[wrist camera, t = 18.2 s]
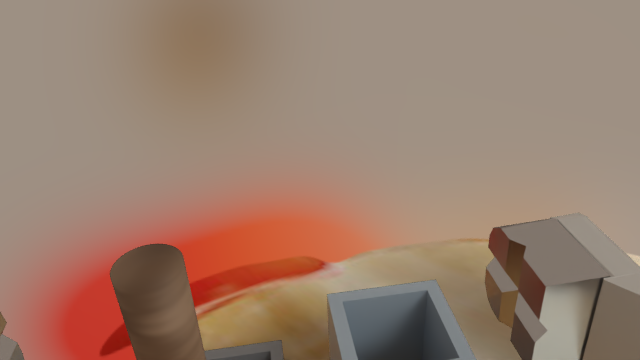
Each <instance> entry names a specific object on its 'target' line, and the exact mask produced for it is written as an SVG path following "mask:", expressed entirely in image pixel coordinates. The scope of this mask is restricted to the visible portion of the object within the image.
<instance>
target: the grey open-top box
mask: <svg viewBox="0 0 640 360" xmlns="http://www.w3.org/2000/svg"><path fill="white" fill-rule="evenodd" d="M327 307H328V330H329V353H330V360H476V358H475V356H474V354H473V352H472V350H471V348H470V346H469V344H468V342H467V340H466V338H465V336H464V334H463V332H462V330H461V328H460V326H459V324H458V322H457V320H456V318H455V316H454V315H453V313H452V311H451V309H450V307H449V305H448V303H447V301H446V299H445V297H444V295H443V293H442V291H441V289H440V287H439V285H438V283H437V281H436V280H430V281H422V282H415V283H407V284H400V285H392V286H385V287H377V288H370V289H362V290H355V291H347V292H340V293H333V294H327Z"/></svg>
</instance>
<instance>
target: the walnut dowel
mask: <svg viewBox="0 0 640 360" xmlns="http://www.w3.org/2000/svg"><path fill="white" fill-rule="evenodd" d="M110 277H111V281H112V284H113V287H114V290H115V294H116V297H117V300H118V303H119V306H120V309H121V312H122V315H123V319H124V322H125V325H126V328H127V331H128V334H129V337H130V341H131V344H132V347H133V350H134V353H135V356H136V359H137V360H206V357H205V352H204V348H203V343H202V339H201V335H200V330H199V326H198V321H197V317H196V312H195V308H194V303H193V299H192V294H191V290H190V285H189V281H188V277H187V272H186V267H185V263H184V258H183V255H182V253H181V251H180V250H179V249H177V248H176V247H173V246H170V245H167V244H150V245H145V246H141V247H138V248H135V249H133V250H131V251H129V252H127V253H125V254H124V255H122V256H121V257H120V258H119V259H118V260H117V261H116V262H115V263H114V264H113V266H112V268H111V271H110Z"/></svg>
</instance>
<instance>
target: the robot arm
mask: <svg viewBox="0 0 640 360" xmlns="http://www.w3.org/2000/svg"><path fill="white" fill-rule="evenodd" d="M488 247H489V249H490V250H491V252H492V253H493V255H494V256H495V257H494V259H493V260H492V261H491V262H490V263H489V265H488V266H487V267H486V277H485V285H486V290H487V296H488V300H489V302H490V305H491V308H492V310H493V312H494V313H495V315H496V317H497V319H498V320H499V321H500V322H502V323H504V324H506V325H507V326H509V327H511V328H512V334H511V342H512V344H513V345H514V347H515V349H516V350H517V352H518V353H519V355H520V357H521V358H522V360H640V267H639V266H638V265H637V264H636V263H635V262H634V261H633V260H632V259H631V258H630V257H629V256H628V255H627V254H626V253H625V252H624V251H623V250H622V249H620V248H619V247H618V246H617V245H616V244H615V243H614V242H613V241H612V240H611V239H610V238H609V237H608V236H607V235H606V234H604V232H602V230H601V229H599V228H598V227H597V226H596V225H595V224H594V223H593V222H592V221H591V220H590V219H589V218H588V217H587V216H585V215H583V214H580V213H575V214H569V215H563V216H557V217H552V218H550V219H545V220H538V221H533V222H526V223H520V224H513V225H507V226H501V227H495V228H493V230H492V232H491V234H490V238H489V246H488ZM6 323H7V322H6V321H5V319H4V317H3V316H2V314H1V312H0V360H24V357H23V353H22V351H21V349H20V347H19V345H18V343H17V342H15V341H13V340H12V339H10V338H8V337H6V336H4V335H3V334H2V333H3V330H4V328H5V325H6Z"/></svg>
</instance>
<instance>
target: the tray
mask: <svg viewBox="0 0 640 360" xmlns="http://www.w3.org/2000/svg"><path fill="white" fill-rule="evenodd" d="M204 352H205V357H206V360H284V358H283V349H282V340H278V341H271V342H264V343H257V344H250V345H243V346H236V347H229V348H222V349H215V350H208V351H204Z"/></svg>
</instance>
